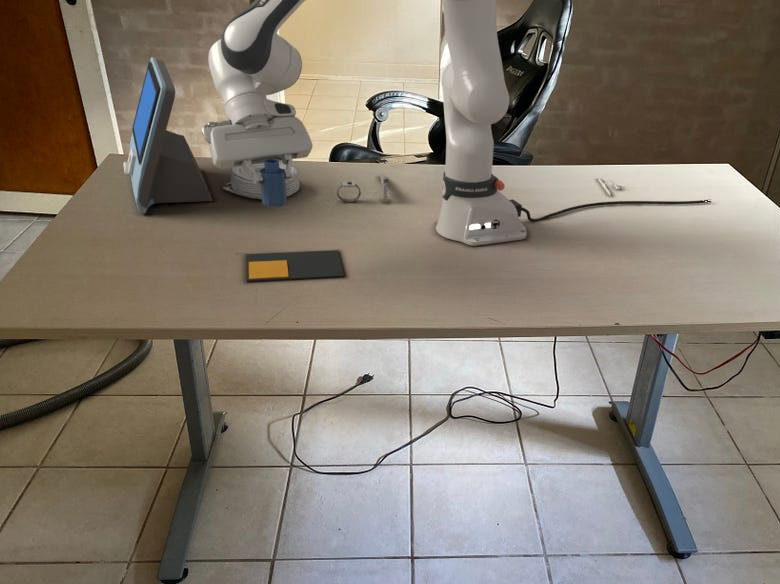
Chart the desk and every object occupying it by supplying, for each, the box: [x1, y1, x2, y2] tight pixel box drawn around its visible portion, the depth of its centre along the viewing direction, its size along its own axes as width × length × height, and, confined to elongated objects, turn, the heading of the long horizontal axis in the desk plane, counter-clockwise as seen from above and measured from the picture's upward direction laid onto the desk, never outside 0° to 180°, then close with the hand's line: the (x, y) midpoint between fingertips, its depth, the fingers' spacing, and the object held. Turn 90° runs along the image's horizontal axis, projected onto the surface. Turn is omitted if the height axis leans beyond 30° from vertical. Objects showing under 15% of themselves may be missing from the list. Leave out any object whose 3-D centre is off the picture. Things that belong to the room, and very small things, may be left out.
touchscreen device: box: [122, 56, 213, 215], centre depth 186 cm, size 35×20×30 cm, turn 23°
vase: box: [260, 159, 288, 208], centre depth 147 cm, size 5×5×8 cm
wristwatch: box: [336, 181, 362, 203], centre depth 192 cm, size 6×3×5 cm, turn 102°
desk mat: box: [246, 249, 345, 283], centre depth 160 cm, size 20×13×1 cm, turn 104°
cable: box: [222, 162, 300, 200], centre depth 195 cm, size 18×18×6 cm
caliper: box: [379, 173, 389, 203], centre depth 201 cm, size 20×1×6 cm, turn 8°
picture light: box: [598, 178, 621, 196], centre depth 215 cm, size 14×4×2 cm, turn 5°
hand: (274, 180), depth 146 cm, fingers closed on vase, 5 cm apart
